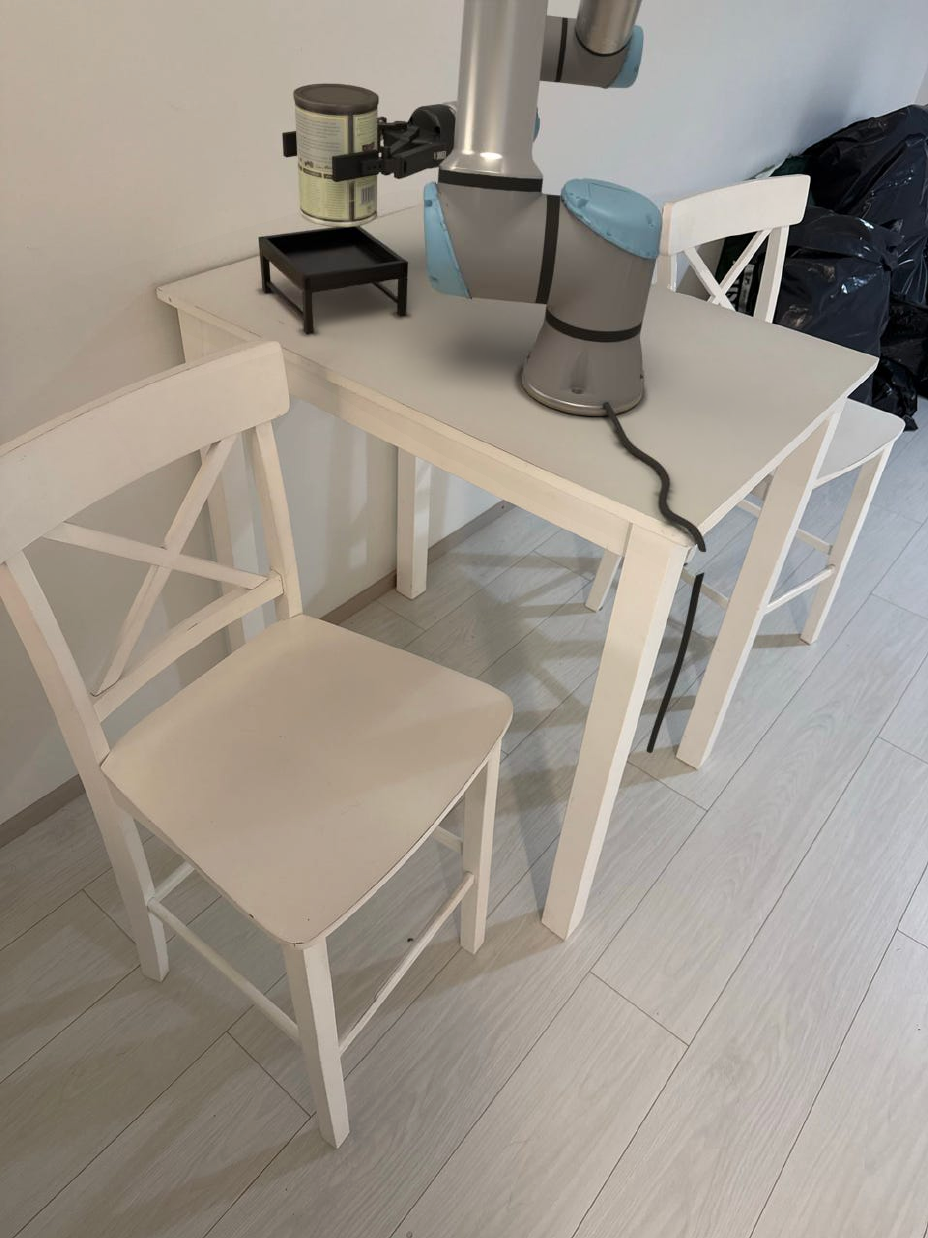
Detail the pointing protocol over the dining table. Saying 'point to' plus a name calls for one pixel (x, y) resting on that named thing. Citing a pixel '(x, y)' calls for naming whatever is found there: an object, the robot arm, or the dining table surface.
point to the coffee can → (335, 152)
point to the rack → (331, 265)
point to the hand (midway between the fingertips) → (308, 156)
